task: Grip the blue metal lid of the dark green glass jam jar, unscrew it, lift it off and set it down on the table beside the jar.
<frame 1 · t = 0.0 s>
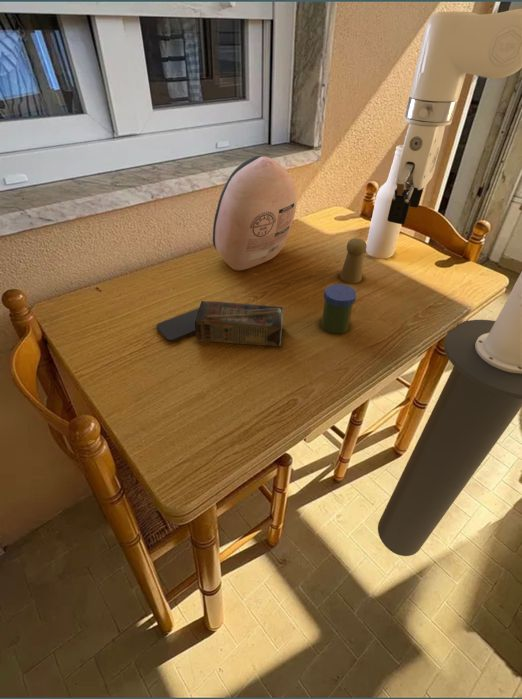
hand: (403, 213, 74), 27 cm above the table, tool pointing down, fingers open, 9 cm apart
phone: (191, 324, 90), on the table, touching beverage carton
alcohol: (379, 253, 119), on the table
jar lid: (340, 293, 85), point 9 cm above the table, screwed on, not yet turned
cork: (350, 277, 107), on the table
jam jar: (334, 325, 91), on the table
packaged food: (254, 264, 113), on the table
beverage carton: (240, 334, 87), on the table, touching phone
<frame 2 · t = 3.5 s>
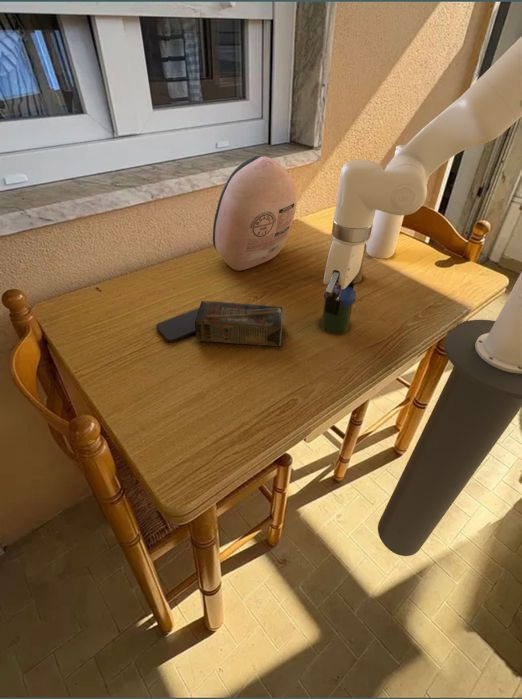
hand: (338, 304, 87), 6 cm above the table, tool pointing down, fingers closed on jar lid, 6 cm apart
jar lid: (340, 293, 85), point 9 cm above the table, screwed on, not yet turned, touching gripper
everything else where it was.
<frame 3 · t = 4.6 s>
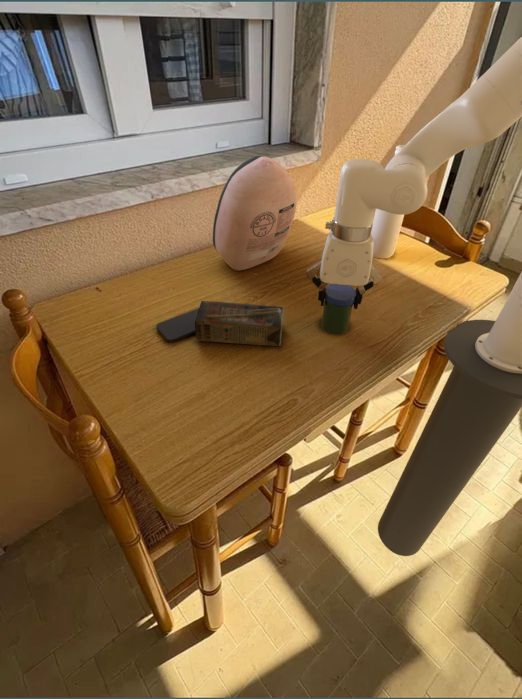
hand: (338, 303, 86), 6 cm above the table, tool pointing down, fingers closed on jar lid, 6 cm apart
jar lid: (340, 292, 84), point 9 cm above the table, turned 114° so far, risen 0.1 cm, still on its thread, touching gripper
everything else where it was.
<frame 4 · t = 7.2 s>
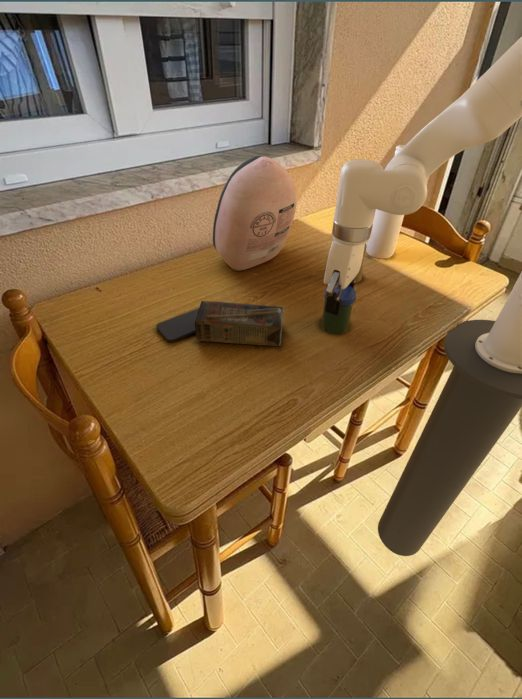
hand: (338, 304, 86), 6 cm above the table, tool pointing down, fingers closed on jar lid, 6 cm apart
jar lid: (340, 292, 84), point 9 cm above the table, turned 125° so far, risen 0.2 cm, still on its thread, touching gripper
everything else where it was.
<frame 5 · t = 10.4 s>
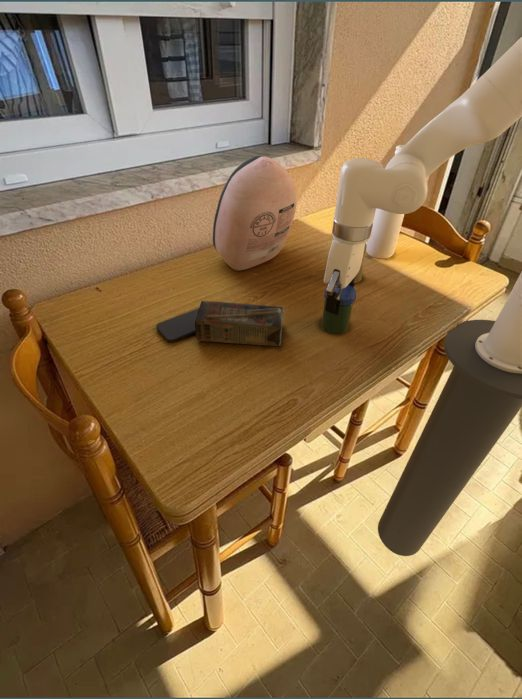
hand: (338, 303, 86), 6 cm above the table, tool pointing down, fingers closed on jar lid, 6 cm apart
jar lid: (340, 292, 84), point 9 cm above the table, turned 250° so far, risen 0.3 cm, still on its thread, touching gripper
everything else where it was.
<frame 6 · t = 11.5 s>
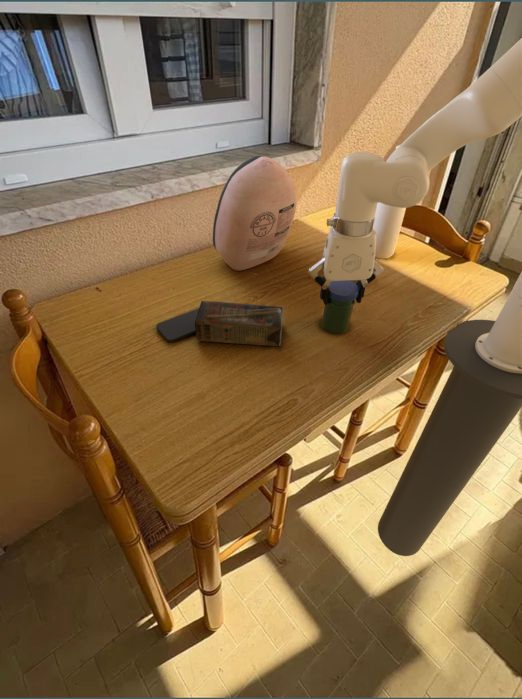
hand: (341, 300, 86), 7 cm above the table, tool pointing down, fingers closed on jar lid, 6 cm apart
jar lid: (342, 288, 84), point 10 cm above the table, off its thread, touching gripper
jam jar: (334, 325, 90), on the table, touching gripper
everything else where it was.
when the fingers open (0 cm above the table, at t = 19.1 s): jar lid drops 2 cm, point 1 cm above the table.
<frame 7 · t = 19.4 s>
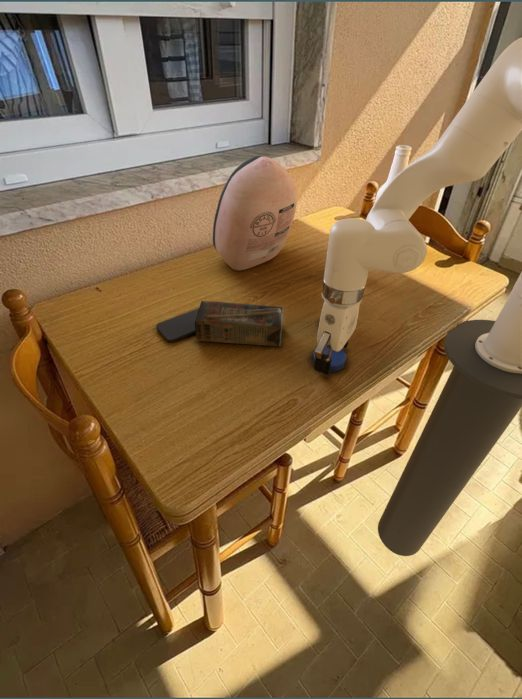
hand: (331, 358, 81), 1 cm above the table, tool pointing down, fingers open, 9 cm apart
jar lid: (329, 356, 80), point 1 cm above the table, off its thread
jam jar: (334, 325, 91), on the table
everything else where it was.
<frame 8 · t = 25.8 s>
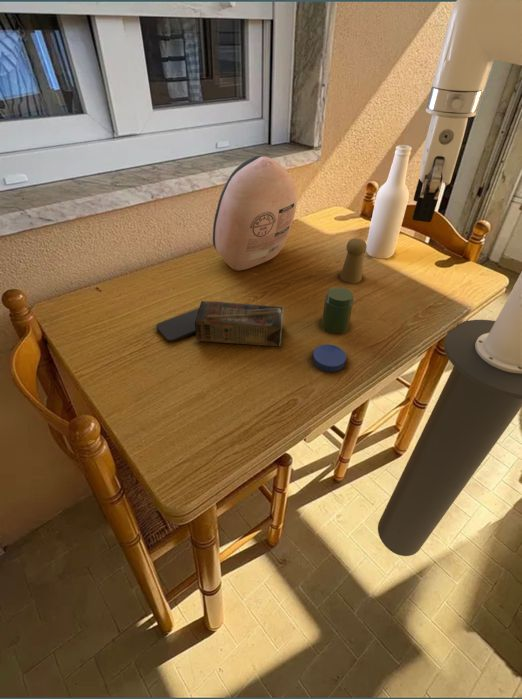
hand: (421, 210, 71), 28 cm above the table, tool pointing down, fingers open, 9 cm apart
nothing on the table moved.
at the end: jar lid came off its thread; jar lid point 1.3 cm above the table; the gripper is holding nothing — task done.
